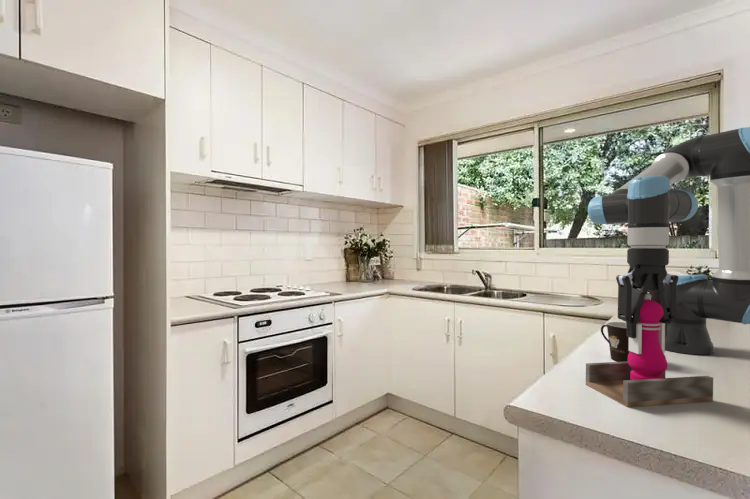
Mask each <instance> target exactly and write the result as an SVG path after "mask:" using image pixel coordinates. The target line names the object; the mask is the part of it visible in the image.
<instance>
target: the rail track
mask: <svg viewBox="0 0 750 499" xmlns="http://www.w3.org/2000/svg"><path fill="white" fill-rule="evenodd" d="M632 370H633V369H632V368H631V367H630V366H629V364H628V361H625V362H617V361H611V362H610V361H608V362H588V363H585V385H586V386H588V387H589V388H592V389H593V390H595V391H597V392H599V393H601V394H602V395H605V397H608V398H610V399H612V400H614V401H615V402H617V403H619V404H621V405H623V406H625V407H627V408H632V407H633V408H634V407H649V406H651V407H652V406H663V405H676V404H691V403H692V404H693V403H708V402H707V401H710V402H714V377H713V376H710V375H701V376H700V375H697V376H681V377H678V376H677V377H666V371H667V369H666V370H665V371H664V372H663V373H662V375H663V376H664V377H665V378H659V379H642V380H631V379H630V372H631V371H632Z"/></svg>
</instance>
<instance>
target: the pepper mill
mask: <svg viewBox="0 0 750 499" xmlns="http://www.w3.org/2000/svg"><path fill="white" fill-rule="evenodd" d="M663 314H664V313H663V308H662V306H661V305H660V304H659V303H658V302H656V301H653V300H651V295H650V294H649V292H647V294H645V297H644V301H643V305H642V307H641V310H640V317H639V321H638V323H639V324H642V351H641V354H637V353H634V352H631V351H630V352H629V355H628V364H629V366H630V367H631V368H632V369H633V370H632V371H631V372H630V379H631V380H642V379H659V378H666V376H665V377H664V376H663V375H662V373H663V372H664V371H665V370H666V371H667V369H668V360H667V357H666V355H665V353H663V351H662V349H661V347H660V345H659V342H658V330H660V329H661V327H660V325H661V323H660V322H659V320H660V319H661V318H662V317H663Z"/></svg>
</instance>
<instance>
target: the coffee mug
mask: <svg viewBox="0 0 750 499" xmlns="http://www.w3.org/2000/svg"><path fill="white" fill-rule="evenodd" d="M604 328H607V336H606V335H605V333H604ZM626 328H627V324H626V321H608V322H606V324H603V325H601V327H600V333H601V335H602V337H603V338H604V340H605V341H606V342H607V343H608V344H609V346H608V347H609V353H610V359H611V360H612V361H613V362H625V361H628V355H629V352H630V351H629V337H627V335H626Z"/></svg>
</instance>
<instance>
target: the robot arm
mask: <svg viewBox="0 0 750 499" xmlns="http://www.w3.org/2000/svg"><path fill="white" fill-rule="evenodd" d="M708 176H709V180H710V183H712V184H713V185H715V186H716V188H717V190H716V191H717V193H716V194H717V228H718V229H717V233H718V234H717V235H718V236H717V237H718V240H717V241H718V268H719V269H718V270H717V271H715V272H714V273H713V274H712V275H711V276H712V277H711V278H712V279H709V276H708V275H706V274H685V275H684V274H683V275H677V274H676V275H675V274H670V273H668V271H667V269H666V266H668V265H669V263H670V250H669V249H668V248H667V246H669V245H670V223H680V222H685V221H687V220H690V219H691V218H692V217H694V216H695V214H696V213H697V211H698V208H699V201H698V199H697V197H696V196H695V195H694V194H693V193H691V192H690V191H688V190H687V191H686V190H684V189H681V188H678V189H675V188H672V187H671V185H672V184H677V183H679V182H681V181H683V180H684V179H689V178H697V177H708ZM587 214H588V218H589V220H590V221H591V222H592V223H593V224H596V225H607V226H608V225H618V224H619V225H620V224H627V245H628V246H629V247H628V248H627V250H626V252H627V254H626V260H627V261H626V262H627V265H629V269H628V271H627V273H626V274H623V275H620V274H617V275H616V277H615V279H616V283H617V289H618V290H617V318H618V319H619V320H621V321H622V322H625V323H626V324H627V328H626V335H627V337H629V351H631V352H634V353H637V354H641V351H642V324H639V323H638V321H639V317H640V310H641V307H642V305H643V301H644V297H645V294H647V293H649V294H650V295H651V299H650V300H653V301H656V302H658V303H659V304H660V305H661V306H662V308H663V313H664V314H663V317H662V318H661V319H660V320H659V322H660V323H661V325H660V327H661V329H660V330H658V342H659V345H660V347H661V349H662V351H663V353H664V354H665V351H668V352H674V353H680V354H689V355H710V354H711V355H712V354H713V353H714V348H715V347H714V342H712V339H711V336H710V333H709V330H708V328H707V319H709V320H717V321H724V322H731V323H737V324H742V325H750V126H748V127H740V128H735V129H731V130H727V131H721V132H717V133H712V134H707V135H703V136H702V135H701V136H696V137H693V138H690V139H687V140H685V141H682V142H680V143H678V144H677V145H676V144H675V145H674V146H672V147H671V148H669V149H667V150H665V151H664V152H662V153H661V154H659V155H658V156H656V157H655V159H654V160H653V161H652V163H651V165H649V167H647V168H645V169H644V170H643V171H641V172H640V173H638V174H637V175H636V176H634V177H633V178H631V179H630V180H628V181H627V182H626V183H625V184H624V185H622V186H620V187H619V188H617V189H616V190H615V191H614V192H612V193H611V194H608V195H601V196H596V197H593V198H592V199H590V201H589V202H588V205H587Z"/></svg>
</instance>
